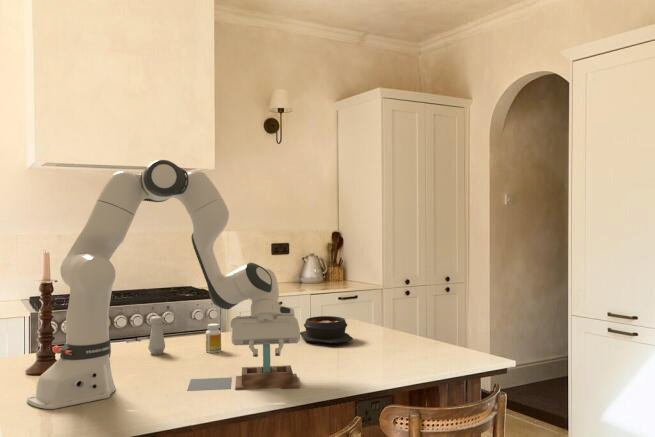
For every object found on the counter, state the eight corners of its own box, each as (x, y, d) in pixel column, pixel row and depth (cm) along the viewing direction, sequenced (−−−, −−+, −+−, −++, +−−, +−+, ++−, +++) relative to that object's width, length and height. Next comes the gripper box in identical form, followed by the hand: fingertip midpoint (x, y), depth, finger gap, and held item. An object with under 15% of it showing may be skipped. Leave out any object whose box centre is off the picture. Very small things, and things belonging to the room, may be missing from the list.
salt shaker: (144, 354, 215) (144, 317, 215) (156, 350, 220) (156, 314, 220) (157, 356, 212) (156, 318, 212) (168, 352, 217) (168, 316, 217)
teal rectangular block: (263, 382, 175) (263, 347, 175) (263, 378, 179) (262, 344, 179) (270, 382, 175) (270, 347, 175) (270, 378, 179) (269, 344, 179)
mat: (186, 392, 169) (186, 390, 169) (190, 380, 181) (190, 379, 181) (230, 390, 171) (230, 388, 171) (231, 378, 182) (231, 377, 182)
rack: (235, 391, 170) (235, 376, 170) (236, 379, 182) (235, 366, 182) (299, 388, 172) (299, 374, 172) (296, 376, 184) (296, 363, 184)
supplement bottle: (224, 350, 219) (224, 323, 219) (214, 353, 215) (214, 326, 215) (212, 349, 222) (212, 322, 222) (202, 352, 217) (202, 325, 217)
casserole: (288, 338, 240) (287, 317, 240) (326, 332, 251) (326, 312, 251) (324, 350, 219) (324, 326, 219) (364, 343, 230) (364, 321, 230)
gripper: (230, 310, 182) (229, 350, 173) (298, 308, 185) (302, 348, 175) (231, 322, 187) (230, 362, 177) (297, 320, 189) (300, 359, 180)
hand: (266, 355), depth 176 cm, fingers open, 5 cm apart
